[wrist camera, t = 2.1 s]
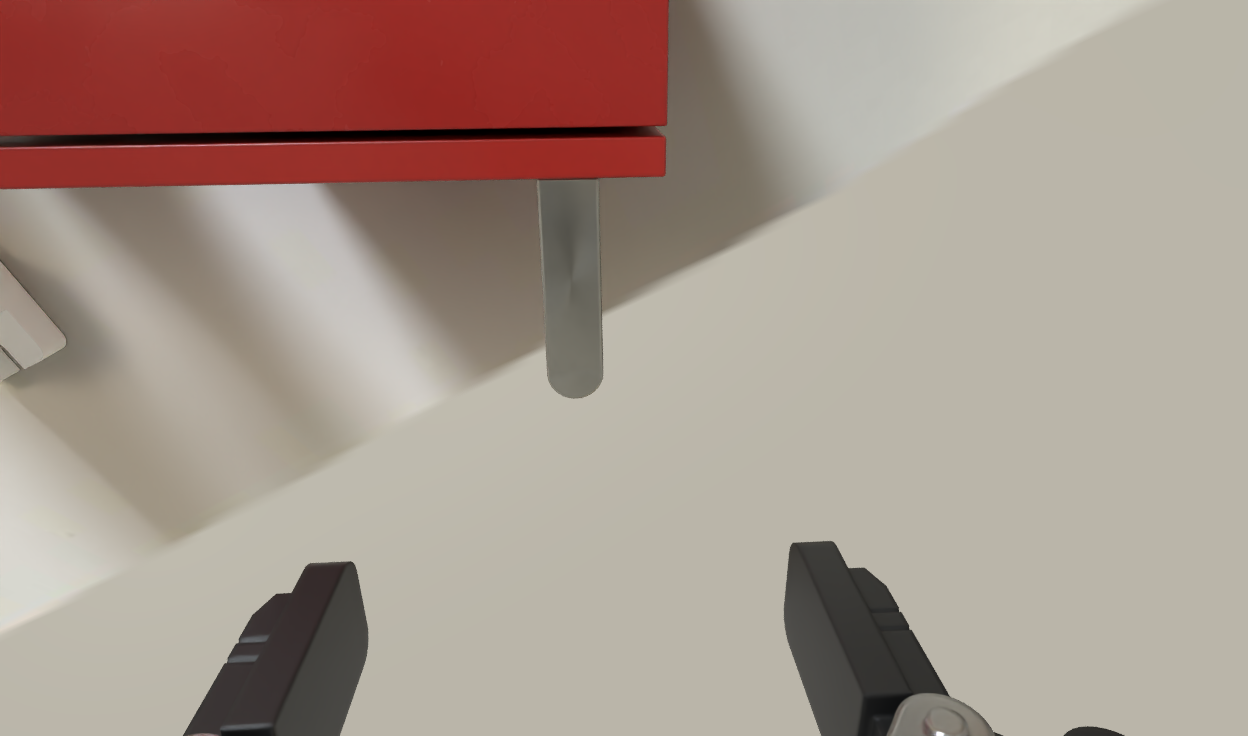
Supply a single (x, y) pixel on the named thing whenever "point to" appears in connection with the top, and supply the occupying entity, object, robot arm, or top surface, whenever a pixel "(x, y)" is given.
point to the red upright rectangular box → (329, 65)
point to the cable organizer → (23, 328)
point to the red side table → (251, 158)
